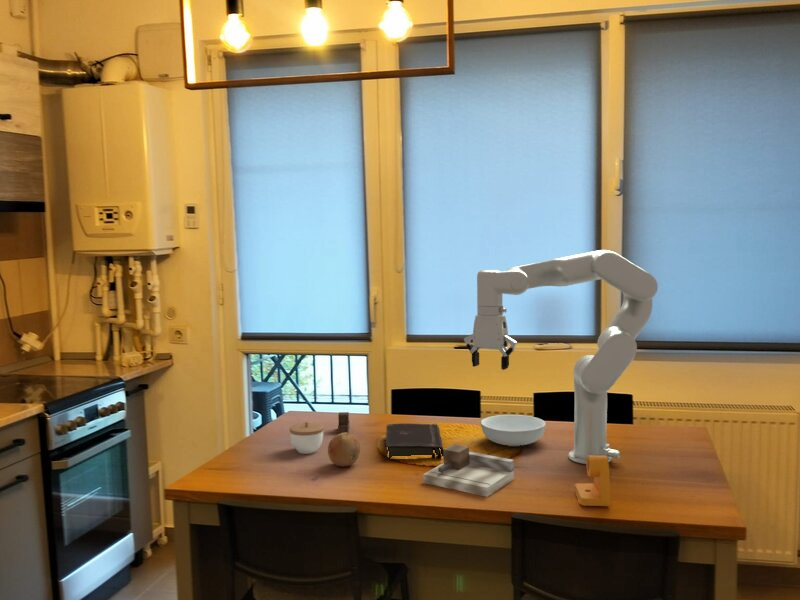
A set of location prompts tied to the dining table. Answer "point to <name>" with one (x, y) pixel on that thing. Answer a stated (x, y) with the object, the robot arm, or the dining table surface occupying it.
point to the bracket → (595, 483)
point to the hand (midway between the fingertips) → (490, 367)
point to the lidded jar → (306, 437)
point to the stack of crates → (343, 422)
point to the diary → (413, 439)
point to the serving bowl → (513, 429)
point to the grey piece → (474, 475)
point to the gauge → (455, 457)
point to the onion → (344, 449)
